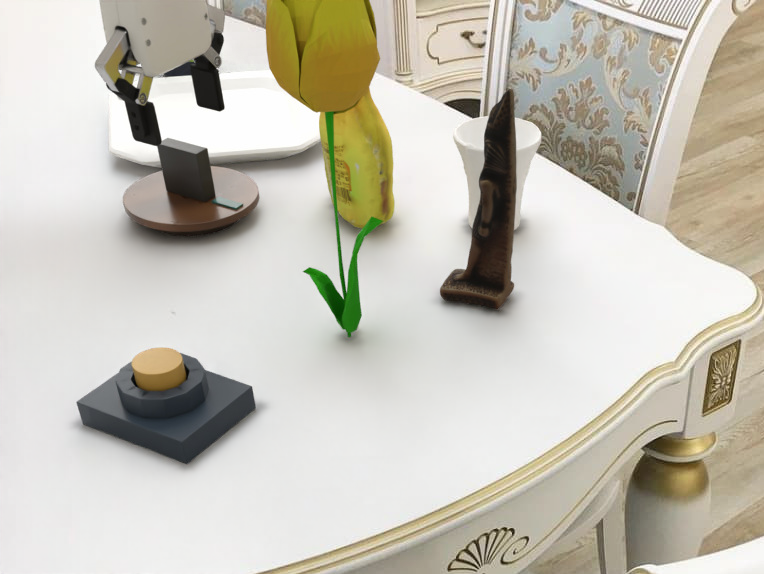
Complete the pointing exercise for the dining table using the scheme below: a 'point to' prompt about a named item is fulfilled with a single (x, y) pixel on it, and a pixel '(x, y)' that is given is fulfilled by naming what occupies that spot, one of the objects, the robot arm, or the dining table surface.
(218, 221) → the turntable
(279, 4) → the flower
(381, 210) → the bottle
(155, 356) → the bell button
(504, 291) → the statue
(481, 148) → the cup
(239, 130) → the plate
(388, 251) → the dining table surface
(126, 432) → the grey button base
